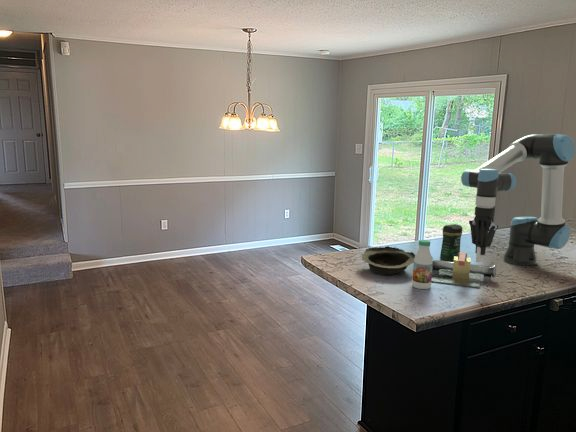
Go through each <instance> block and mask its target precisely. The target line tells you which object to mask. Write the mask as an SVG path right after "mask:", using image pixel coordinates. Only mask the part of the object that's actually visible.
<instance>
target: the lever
mask: <svg viewBox="0 0 576 432" xmlns="http://www.w3.org/2000/svg"><path fill="white" fill-rule="evenodd" d="M467 256H468V253H467V252H463V251H462V252H461V251H460V252H459V253H458V259H459V264H458V265H459V266H464V265H465V260H466V259H467V258H468V257H467Z"/></svg>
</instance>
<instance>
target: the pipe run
mask: <svg viewBox="0 0 576 432" xmlns="http://www.w3.org/2000/svg"><path fill="white" fill-rule="evenodd" d="M432 260H433V264H432V279H431V283H436V284H442V285H451V286H458V287H466V288H473V289H481V279H480V277H481V275H483V277H482V280H483V281H482V282H484V283H489V284H491V282H492V278H493V279H495V278H496V274H497V265H496V264H493V265H492V266H489V265H482V264H481V265H480V264H471V260H472V259H471V257H467V259H466V260H465V265H464V266H459V265H458V264H459V259H458V256H454V262H448V261H443V260H438V259H432Z"/></svg>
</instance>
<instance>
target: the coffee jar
mask: <svg viewBox="0 0 576 432" xmlns="http://www.w3.org/2000/svg"><path fill="white" fill-rule="evenodd" d="M462 234H463V226H462V225H461V224H460V225H459V224H456V223H454V224H445V225H444V226H443V228H442V242H441V248H440V249H441V250H440V254H439V255H440V256H439V259H440V261H448V262H454V256H458V253H459V252H461V239H462Z"/></svg>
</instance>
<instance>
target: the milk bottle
mask: <svg viewBox="0 0 576 432" xmlns="http://www.w3.org/2000/svg"><path fill="white" fill-rule="evenodd" d="M430 247H431V241H430V240H428V239H420V240H418V250H417V251H416V254H415V258H414V263H412V264H413V266H412V278H411V279H412V280H411V285H412V287H413V288H415V289H419V290H429V289H431V287H432V282H431V279H432V264H433V260H434V259H433V256H432V253H431V251H430Z"/></svg>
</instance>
